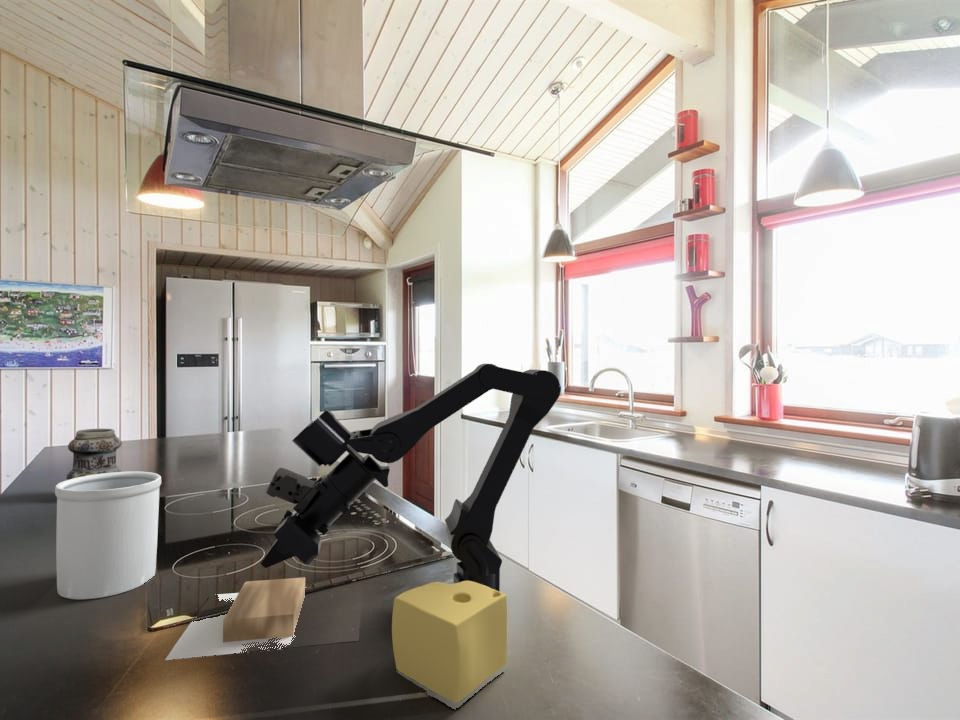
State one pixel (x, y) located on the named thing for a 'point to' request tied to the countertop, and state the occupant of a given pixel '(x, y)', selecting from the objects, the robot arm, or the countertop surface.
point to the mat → (213, 638)
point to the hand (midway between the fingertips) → (263, 565)
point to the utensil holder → (106, 533)
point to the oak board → (265, 610)
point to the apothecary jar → (94, 452)
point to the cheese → (450, 636)
